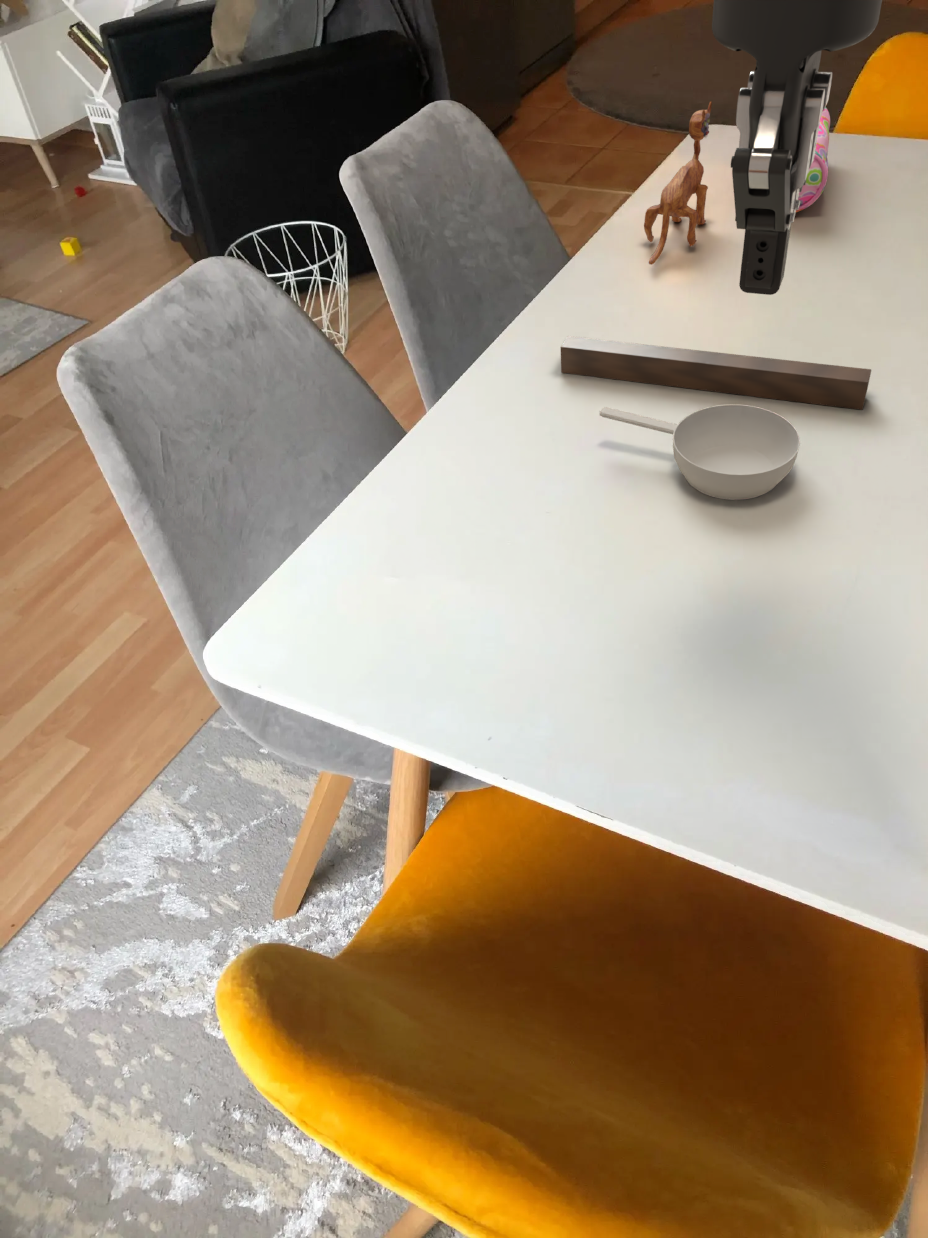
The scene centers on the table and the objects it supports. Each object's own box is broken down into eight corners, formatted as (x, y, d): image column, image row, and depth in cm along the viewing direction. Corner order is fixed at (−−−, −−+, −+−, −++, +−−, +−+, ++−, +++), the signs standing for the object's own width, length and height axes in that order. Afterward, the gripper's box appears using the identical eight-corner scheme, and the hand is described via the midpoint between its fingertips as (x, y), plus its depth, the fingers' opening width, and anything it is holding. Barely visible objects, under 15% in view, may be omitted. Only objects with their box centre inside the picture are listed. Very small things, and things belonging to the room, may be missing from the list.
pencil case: (760, 156, 137) (768, 87, 131) (827, 157, 135) (839, 87, 129) (745, 218, 123) (754, 144, 117) (820, 220, 121) (833, 145, 114)
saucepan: (776, 519, 81) (782, 482, 78) (578, 475, 88) (577, 440, 85) (807, 449, 87) (813, 413, 85) (620, 413, 94) (621, 379, 92)
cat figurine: (676, 276, 114) (684, 156, 104) (623, 270, 116) (626, 151, 107) (720, 215, 125) (731, 101, 115) (671, 210, 127) (677, 98, 118)
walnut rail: (865, 396, 93) (871, 369, 90) (862, 410, 91) (868, 382, 89) (568, 361, 102) (567, 335, 100) (560, 372, 101) (560, 346, 99)
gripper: (881, -54, 37) (812, 353, 49) (910, -119, 45) (845, 242, 57) (687, -48, 39) (666, 337, 52) (748, -110, 48) (718, 234, 60)
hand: (760, 287), depth 54 cm, fingers closed
